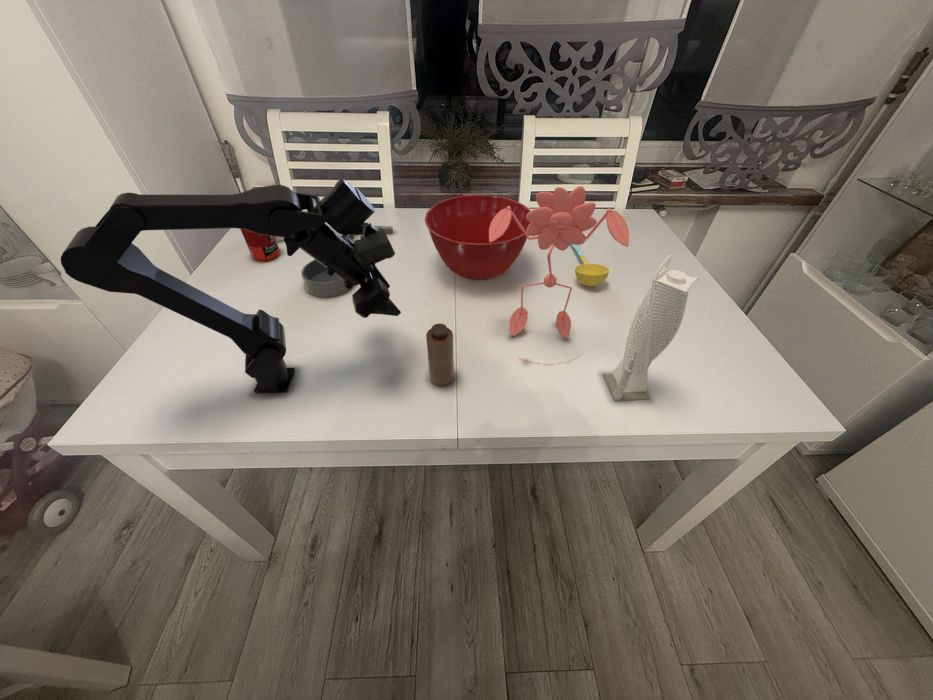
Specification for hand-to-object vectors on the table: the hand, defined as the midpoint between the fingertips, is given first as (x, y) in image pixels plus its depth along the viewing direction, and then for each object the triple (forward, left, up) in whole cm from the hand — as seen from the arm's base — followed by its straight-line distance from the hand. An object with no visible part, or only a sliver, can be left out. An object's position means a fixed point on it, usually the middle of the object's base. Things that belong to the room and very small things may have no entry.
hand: (393, 300), depth 77 cm
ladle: (+34, -49, -14) cm, 61 cm away
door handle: (+52, +15, -14) cm, 56 cm away
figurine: (+2, -31, -14) cm, 34 cm away
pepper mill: (-8, -9, -14) cm, 19 cm away
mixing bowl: (+34, -19, -14) cm, 41 cm away
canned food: (+42, +43, -14) cm, 61 cm away
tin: (+27, +21, -14) cm, 37 cm away
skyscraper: (-11, -47, -14) cm, 50 cm away
